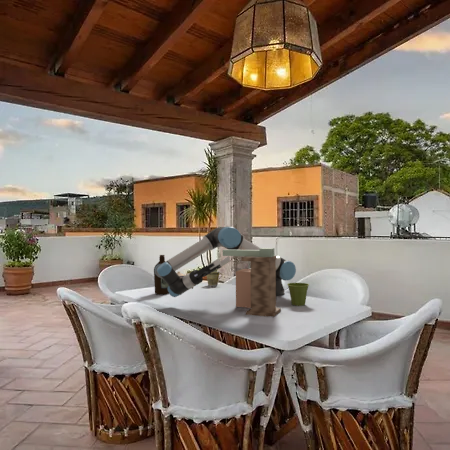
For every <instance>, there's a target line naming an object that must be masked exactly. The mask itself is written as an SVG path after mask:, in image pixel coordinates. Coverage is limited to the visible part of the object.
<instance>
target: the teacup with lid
mask: <svg viewBox="0 0 450 450" xmlns="http://www.w3.org/2000/svg"><path fill="white" fill-rule="evenodd" d="M176 273H177V274H178V275H179V277H180V278H182V277H184V276H185V275H186V274H184V273H182V272H181V271H180V270H179V271H177V272H176Z"/></svg>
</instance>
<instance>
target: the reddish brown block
mask: <svg viewBox="0 0 450 450" xmlns="http://www.w3.org/2000/svg"><path fill="white" fill-rule="evenodd" d="M235 307H237V308H247V309H248V308H249V309H251V268H242V269H238V270H236V271H235Z"/></svg>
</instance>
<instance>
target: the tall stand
mask: <svg viewBox="0 0 450 450" xmlns="http://www.w3.org/2000/svg"><path fill="white" fill-rule="evenodd" d="M277 256H278V255H275V256H273V257H253V256H240V257H241V258H240V260H241V262H250V269H251V308H249V309H248V310H246V311H245V315H246V316H254V317H255V316H256V317H257V316H258V317H270V318H274V317H276V316H277V315H278V314H279V313H280V312H281V311H282V308H281V307H277V295H276V260H277Z"/></svg>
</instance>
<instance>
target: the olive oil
mask: <svg viewBox="0 0 450 450" xmlns="http://www.w3.org/2000/svg"><path fill="white" fill-rule="evenodd" d="M158 258H159V261H158V262H157V263H156V264H155V265H154V267H153V279H154V282H153V283H154V294H155V295H159V296H163V295H170V294H169V292H168V286H169V285H168V284H167V283H166V282H165V281H164V280H163V279H162V278H160V277H158V276H157V275H156V274H155V267H156V266H157V265H159V264H162V263H164V262H166V261H165V260H166V259H165V254H159V257H158Z"/></svg>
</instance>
